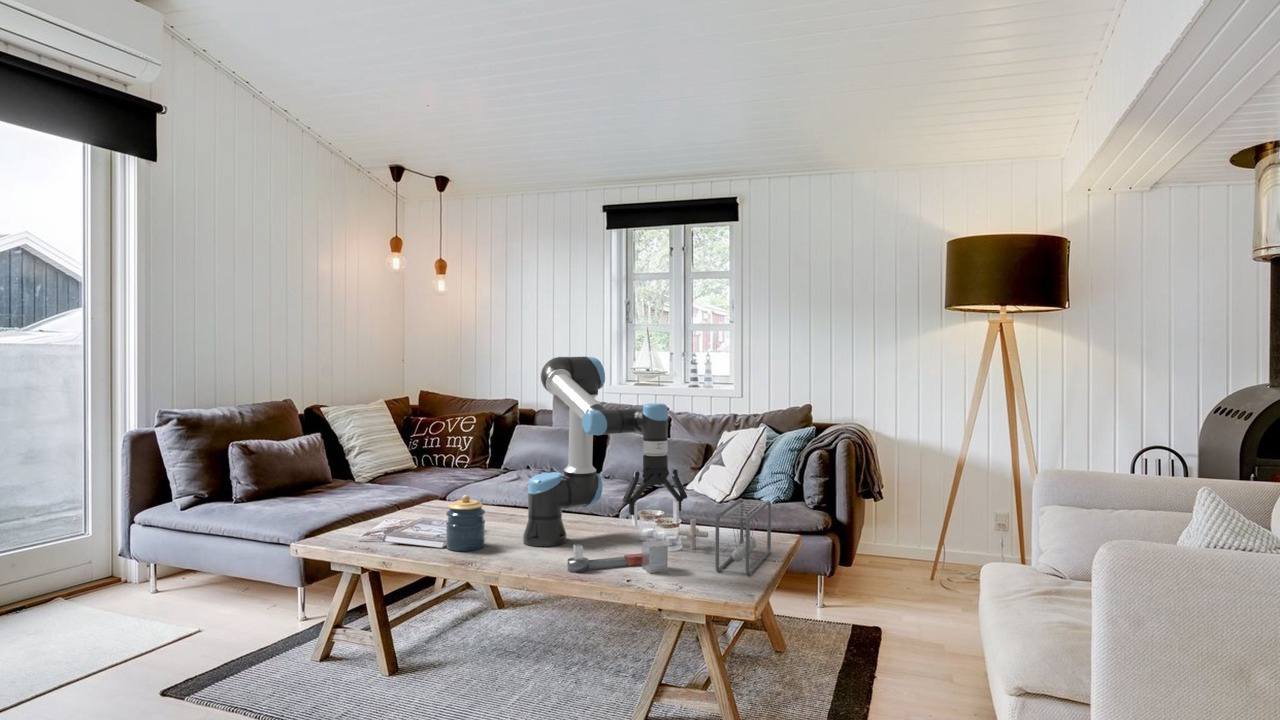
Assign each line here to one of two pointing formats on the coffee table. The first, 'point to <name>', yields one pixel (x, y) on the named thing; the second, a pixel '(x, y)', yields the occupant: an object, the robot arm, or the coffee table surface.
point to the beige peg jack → (693, 533)
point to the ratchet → (599, 561)
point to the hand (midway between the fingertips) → (655, 523)
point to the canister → (465, 525)
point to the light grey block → (655, 556)
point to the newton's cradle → (744, 545)
